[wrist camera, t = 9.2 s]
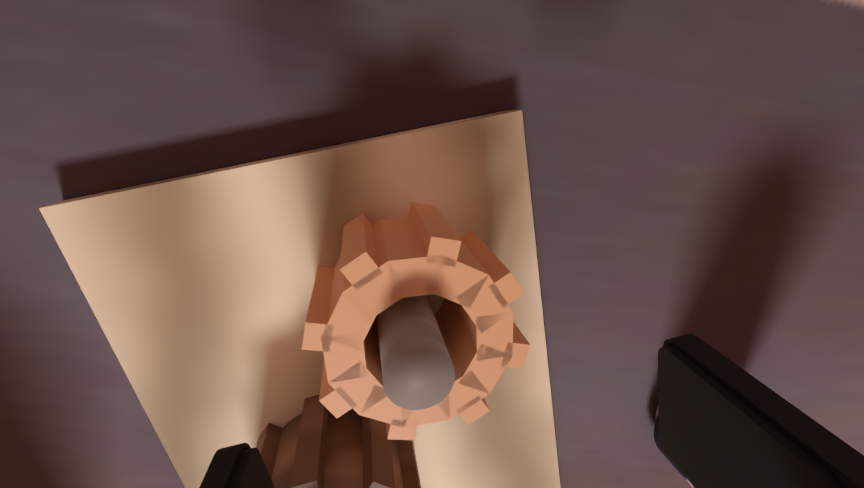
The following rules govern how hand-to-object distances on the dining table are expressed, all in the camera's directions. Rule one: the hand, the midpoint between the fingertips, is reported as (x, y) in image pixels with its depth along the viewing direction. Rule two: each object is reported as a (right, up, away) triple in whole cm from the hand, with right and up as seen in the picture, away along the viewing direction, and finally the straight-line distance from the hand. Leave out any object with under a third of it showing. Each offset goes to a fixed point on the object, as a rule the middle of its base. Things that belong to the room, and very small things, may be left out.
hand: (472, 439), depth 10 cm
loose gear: (-2, +3, +8) cm, 8 cm away
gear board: (-4, -2, +10) cm, 11 cm away
